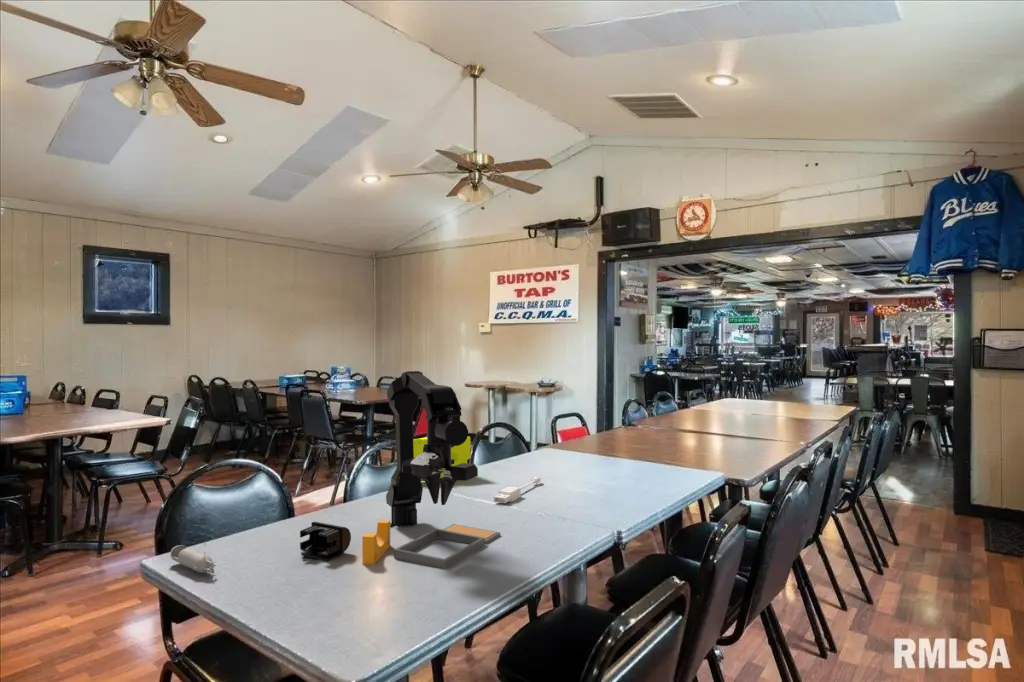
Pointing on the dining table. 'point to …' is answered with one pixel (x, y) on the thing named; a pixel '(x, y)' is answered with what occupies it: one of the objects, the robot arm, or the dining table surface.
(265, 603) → the dining table surface
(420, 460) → the robot arm
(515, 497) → the charging cable
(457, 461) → the cheese wedge
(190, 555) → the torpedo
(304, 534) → the end cap
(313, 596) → the dining table surface
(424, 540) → the gray rectangular frame
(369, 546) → the pipe clamp
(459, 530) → the lid
